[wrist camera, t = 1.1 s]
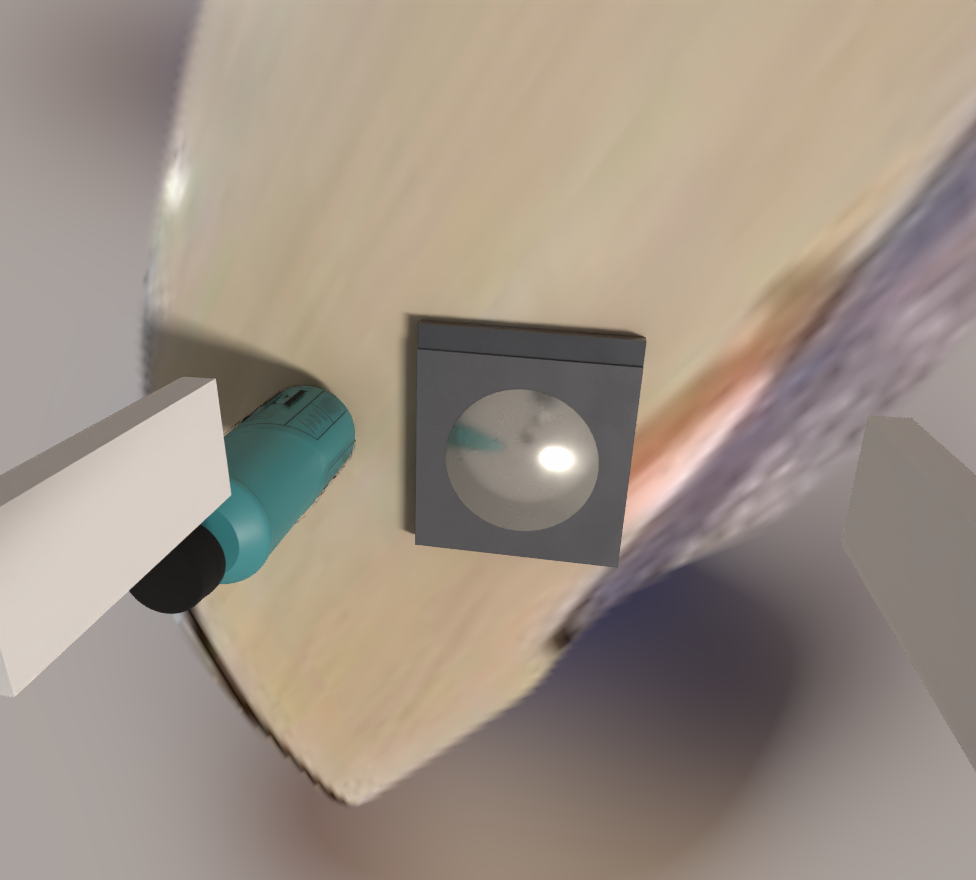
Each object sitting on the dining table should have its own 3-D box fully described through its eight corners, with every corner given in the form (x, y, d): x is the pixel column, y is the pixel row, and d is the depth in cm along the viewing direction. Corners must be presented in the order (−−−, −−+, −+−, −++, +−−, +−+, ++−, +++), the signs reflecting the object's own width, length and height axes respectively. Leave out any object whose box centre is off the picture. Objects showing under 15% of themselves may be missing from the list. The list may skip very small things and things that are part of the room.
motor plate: (421, 320, 46) (417, 324, 45) (645, 337, 45) (646, 342, 44) (419, 536, 52) (415, 544, 51) (617, 558, 51) (617, 567, 49)
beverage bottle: (331, 358, 48) (164, 485, 30) (385, 442, 50) (258, 611, 31) (256, 401, 50) (55, 545, 32) (310, 481, 52) (149, 661, 33)
